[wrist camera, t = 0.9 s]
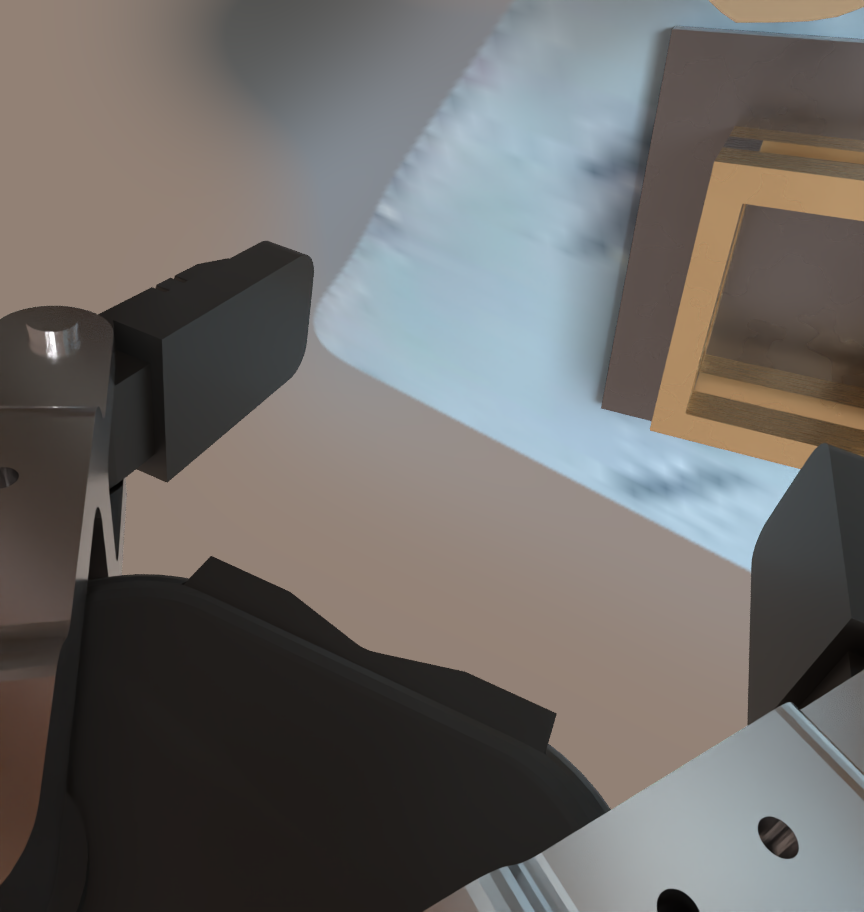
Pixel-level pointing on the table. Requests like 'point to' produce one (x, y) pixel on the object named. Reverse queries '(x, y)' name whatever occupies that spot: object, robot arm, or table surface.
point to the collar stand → (750, 249)
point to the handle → (784, 9)
